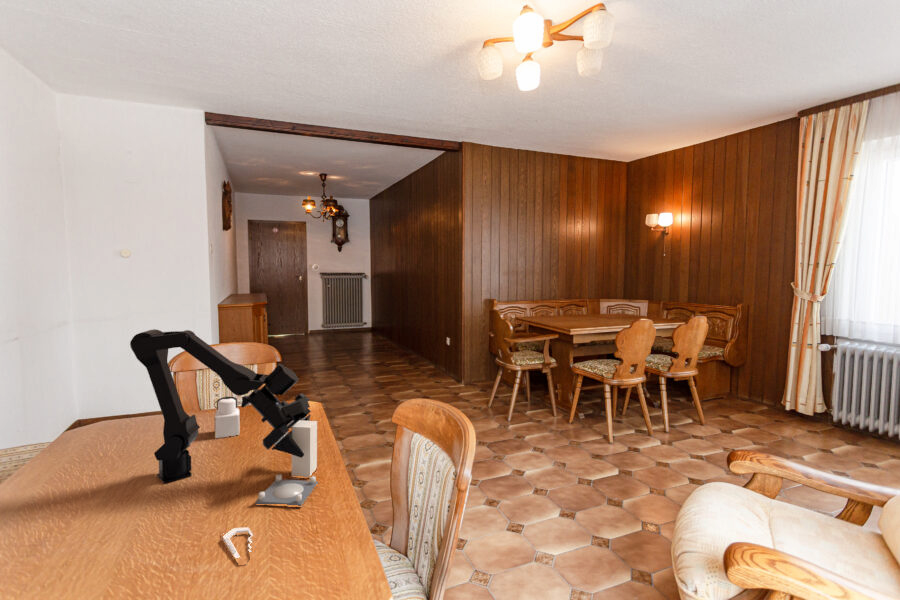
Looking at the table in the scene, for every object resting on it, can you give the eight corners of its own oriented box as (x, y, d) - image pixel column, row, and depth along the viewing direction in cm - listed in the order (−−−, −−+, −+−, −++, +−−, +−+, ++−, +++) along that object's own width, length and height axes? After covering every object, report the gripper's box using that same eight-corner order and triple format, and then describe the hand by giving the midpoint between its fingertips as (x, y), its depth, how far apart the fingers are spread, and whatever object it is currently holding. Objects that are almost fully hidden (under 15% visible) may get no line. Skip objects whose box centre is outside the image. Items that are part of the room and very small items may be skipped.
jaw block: (310, 479, 118) (310, 427, 117) (291, 478, 118) (291, 426, 117) (316, 470, 123) (317, 421, 122) (299, 469, 123) (299, 420, 122)
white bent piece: (266, 562, 87) (266, 554, 86) (239, 573, 83) (239, 564, 83) (244, 528, 96) (244, 520, 96) (219, 537, 93) (219, 529, 92)
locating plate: (301, 508, 104) (301, 497, 104) (255, 505, 105) (255, 494, 104) (318, 485, 115) (318, 475, 115) (276, 482, 116) (276, 473, 115)
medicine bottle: (216, 431, 150) (215, 396, 149) (239, 428, 153) (239, 394, 152) (214, 438, 143) (214, 402, 142) (239, 435, 146) (239, 400, 145)
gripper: (274, 397, 110) (317, 443, 110) (304, 378, 128) (341, 418, 129) (243, 426, 111) (286, 472, 111) (277, 404, 130) (314, 443, 130)
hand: (309, 449), depth 120 cm, fingers open, 9 cm apart
